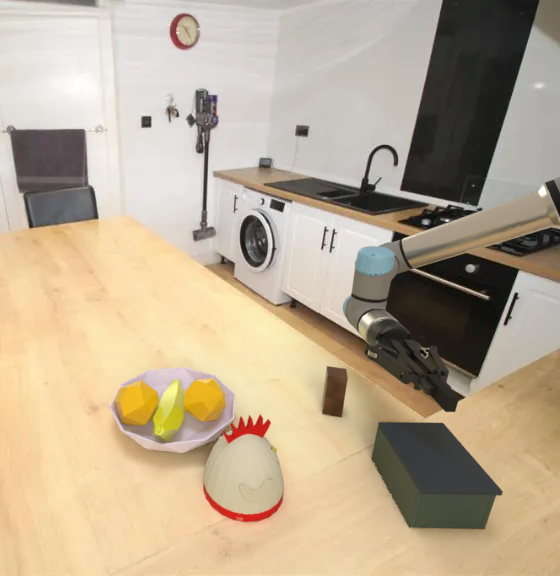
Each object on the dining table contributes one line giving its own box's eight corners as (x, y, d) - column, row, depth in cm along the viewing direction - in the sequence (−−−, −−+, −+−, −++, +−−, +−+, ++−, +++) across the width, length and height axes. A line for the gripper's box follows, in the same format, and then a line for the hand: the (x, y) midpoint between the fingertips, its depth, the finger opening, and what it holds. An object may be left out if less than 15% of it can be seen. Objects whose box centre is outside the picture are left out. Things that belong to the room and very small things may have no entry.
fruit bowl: (150, 378, 105) (149, 338, 101) (252, 407, 93) (255, 363, 89) (79, 447, 82) (73, 400, 78) (202, 497, 70) (203, 444, 66)
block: (340, 406, 93) (346, 368, 90) (341, 417, 89) (347, 378, 86) (322, 403, 94) (326, 365, 91) (322, 414, 91) (327, 375, 87)
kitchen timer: (297, 513, 67) (305, 439, 62) (216, 529, 64) (218, 454, 59) (263, 453, 80) (268, 387, 75) (195, 464, 77) (195, 397, 72)
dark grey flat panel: (501, 495, 60) (503, 491, 60) (421, 494, 61) (422, 490, 61) (442, 426, 75) (443, 422, 74) (377, 425, 75) (378, 421, 75)
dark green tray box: (485, 529, 64) (498, 491, 61) (409, 527, 64) (418, 489, 62) (433, 459, 77) (442, 426, 75) (371, 459, 78) (377, 425, 75)
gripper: (413, 350, 86) (489, 425, 64) (350, 350, 86) (404, 424, 64) (420, 318, 83) (502, 384, 61) (355, 318, 84) (413, 383, 62)
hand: (452, 404), depth 63 cm, fingers closed
